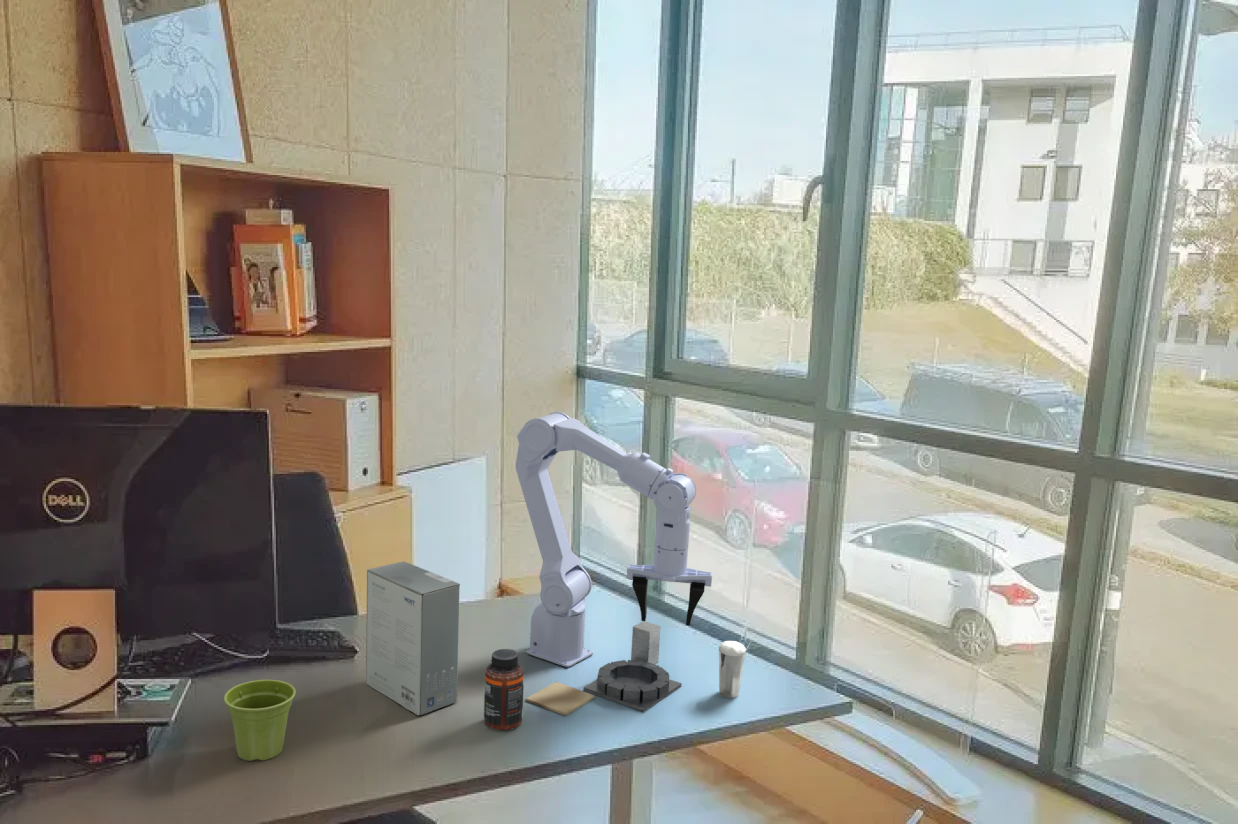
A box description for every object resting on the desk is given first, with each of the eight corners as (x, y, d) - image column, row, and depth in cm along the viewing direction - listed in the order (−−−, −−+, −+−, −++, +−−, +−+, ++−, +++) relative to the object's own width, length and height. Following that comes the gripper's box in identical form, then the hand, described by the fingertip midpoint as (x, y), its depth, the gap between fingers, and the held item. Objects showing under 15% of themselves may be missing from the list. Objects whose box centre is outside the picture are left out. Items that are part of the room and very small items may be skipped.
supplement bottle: (528, 718, 149) (531, 650, 147) (512, 735, 143) (514, 664, 142) (494, 710, 151) (496, 643, 149) (476, 727, 145) (478, 657, 143)
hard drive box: (458, 703, 153) (462, 584, 150) (419, 718, 147) (421, 595, 144) (402, 671, 163) (404, 559, 160) (363, 684, 158) (364, 568, 154)
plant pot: (265, 728, 142) (264, 673, 140) (309, 747, 137) (309, 690, 136) (210, 754, 134) (209, 696, 132) (255, 775, 129) (255, 715, 128)
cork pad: (525, 700, 155) (525, 698, 155) (556, 683, 161) (556, 681, 161) (565, 715, 150) (565, 713, 150) (594, 697, 157) (594, 695, 157)
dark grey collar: (583, 690, 160) (584, 676, 159) (622, 667, 169) (623, 654, 169) (643, 712, 153) (644, 698, 153) (681, 686, 163) (682, 673, 162)
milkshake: (746, 702, 158) (750, 645, 157) (714, 698, 159) (718, 641, 158) (748, 690, 163) (752, 635, 161) (716, 686, 164) (720, 631, 162)
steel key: (630, 663, 171) (632, 626, 170) (641, 657, 174) (643, 620, 173) (647, 669, 169) (649, 631, 168) (658, 662, 172) (660, 625, 171)
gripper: (626, 548, 159) (621, 625, 162) (713, 556, 158) (707, 634, 160) (630, 536, 166) (626, 610, 169) (714, 544, 165) (708, 618, 167)
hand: (665, 621), depth 165 cm, fingers open, 7 cm apart
